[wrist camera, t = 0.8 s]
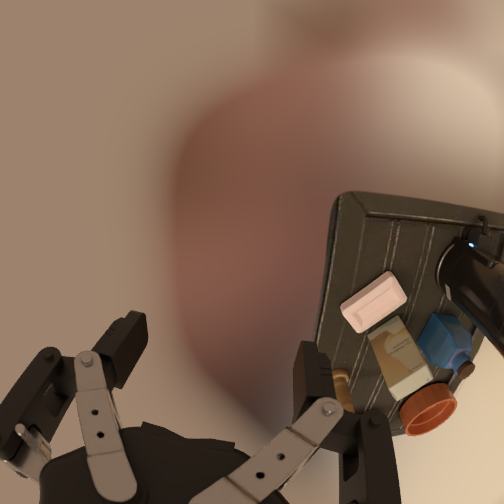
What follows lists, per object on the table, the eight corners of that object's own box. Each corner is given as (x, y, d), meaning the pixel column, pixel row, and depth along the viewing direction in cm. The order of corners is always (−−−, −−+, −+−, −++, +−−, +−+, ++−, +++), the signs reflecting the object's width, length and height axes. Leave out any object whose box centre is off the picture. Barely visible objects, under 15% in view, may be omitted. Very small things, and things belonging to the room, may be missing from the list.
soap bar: (338, 304, 39) (341, 313, 37) (388, 268, 36) (394, 275, 34) (355, 326, 40) (359, 336, 38) (403, 293, 37) (409, 301, 35)
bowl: (416, 381, 45) (426, 401, 39) (456, 379, 45) (467, 396, 39) (388, 419, 50) (394, 438, 44) (428, 415, 50) (435, 432, 44)
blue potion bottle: (416, 341, 41) (444, 387, 30) (432, 312, 39) (466, 356, 28) (439, 343, 41) (467, 385, 30) (454, 316, 39) (488, 356, 28)
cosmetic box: (397, 313, 39) (429, 362, 28) (406, 329, 40) (435, 377, 29) (364, 335, 41) (387, 390, 29) (374, 350, 42) (397, 402, 30)
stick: (331, 367, 43) (346, 433, 30) (350, 369, 44) (368, 432, 30) (324, 381, 45) (336, 445, 32) (342, 382, 45) (357, 444, 32)
